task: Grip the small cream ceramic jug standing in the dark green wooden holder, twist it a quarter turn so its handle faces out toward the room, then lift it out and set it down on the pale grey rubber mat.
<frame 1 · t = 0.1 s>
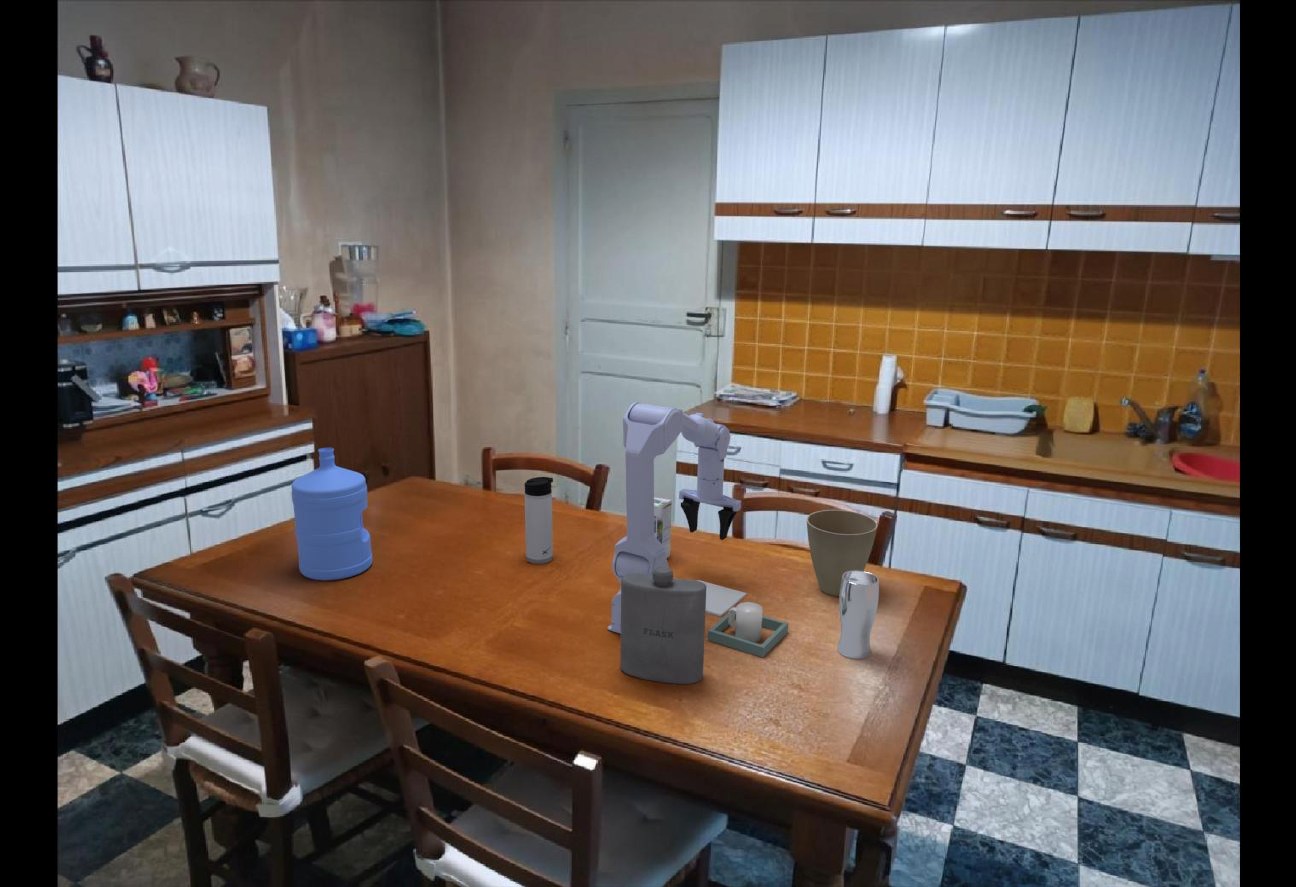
hand: (708, 534, 178), 10 cm above the table, tool pointing down, fingers open, 7 cm apart
mat: (708, 598, 170), on the table
beer glass: (853, 652, 150), on the table
plant pot: (835, 590, 176), on the table
flask: (660, 674, 141), on the table
syrup box: (654, 558, 191), on the table
water jug: (336, 568, 182), on the table
jug: (745, 621, 154), in the holder
travel mug: (540, 559, 189), on the table
holder: (748, 636, 155), on the table
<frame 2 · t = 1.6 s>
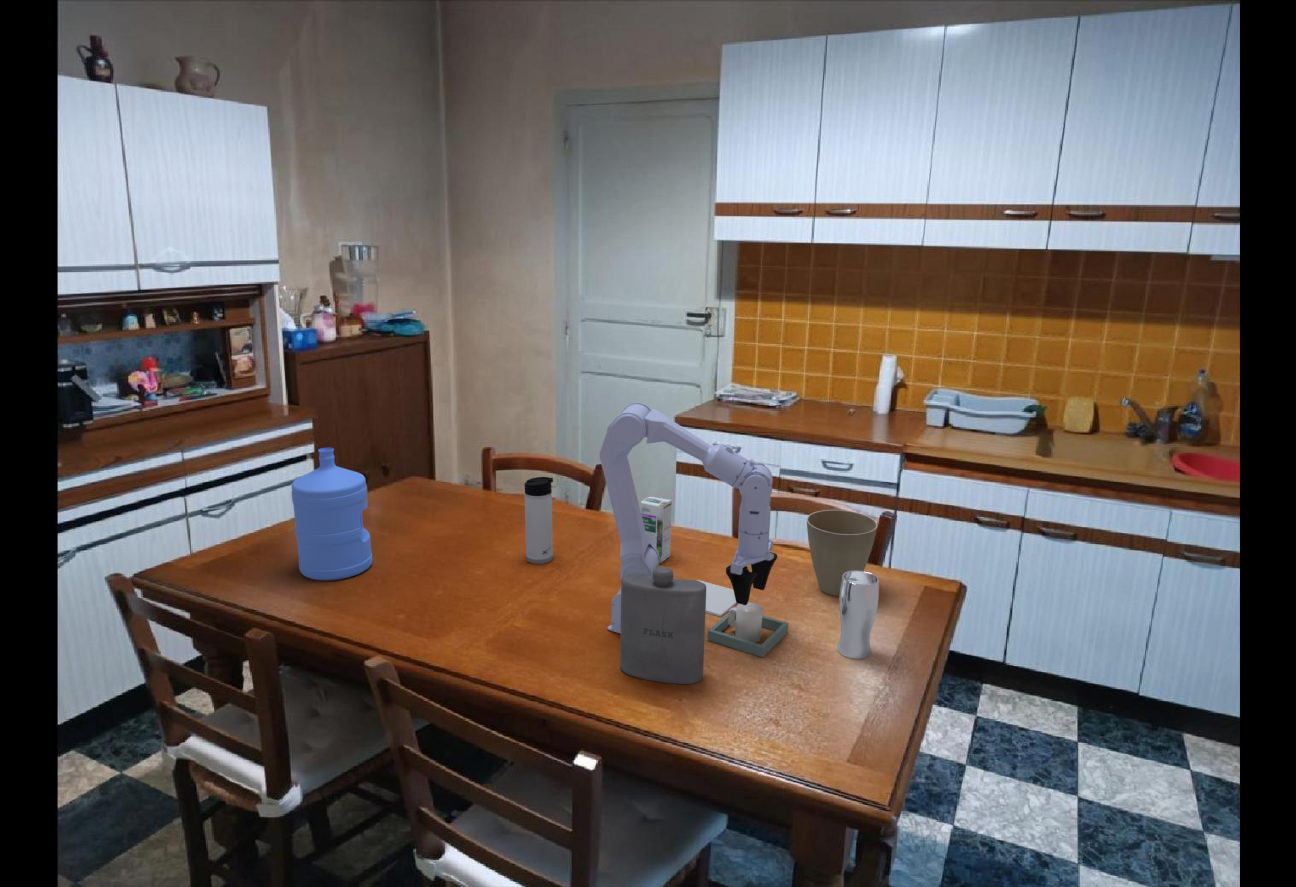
hand: (750, 595, 153), 9 cm above the table, tool pointing down, fingers open, 7 cm apart
nothing on the table moved.
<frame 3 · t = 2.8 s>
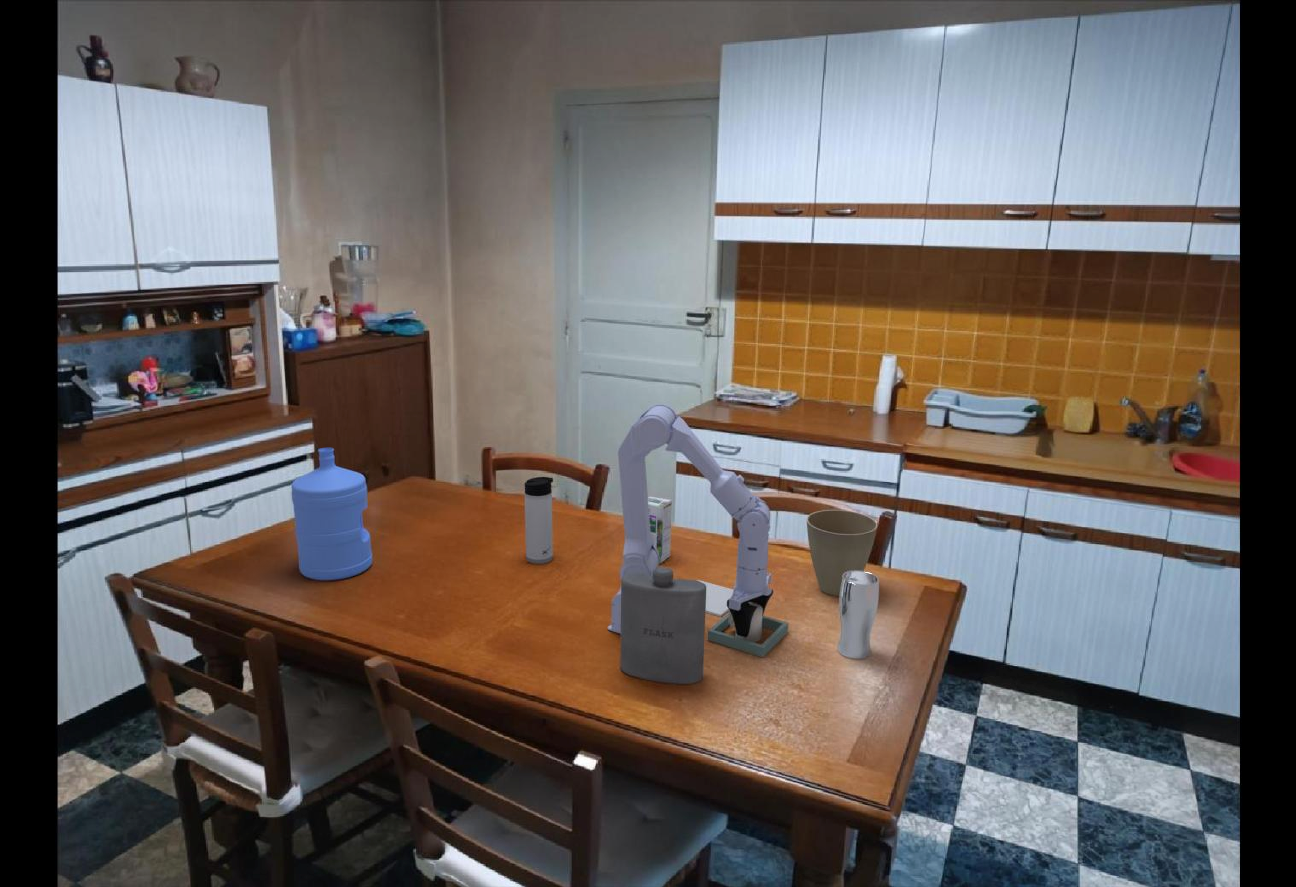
hand: (748, 629, 154), 1 cm above the table, tool pointing down, fingers closed on jug, 5 cm apart
jug: (745, 621, 154), in the holder, touching gripper
everything else where it was.
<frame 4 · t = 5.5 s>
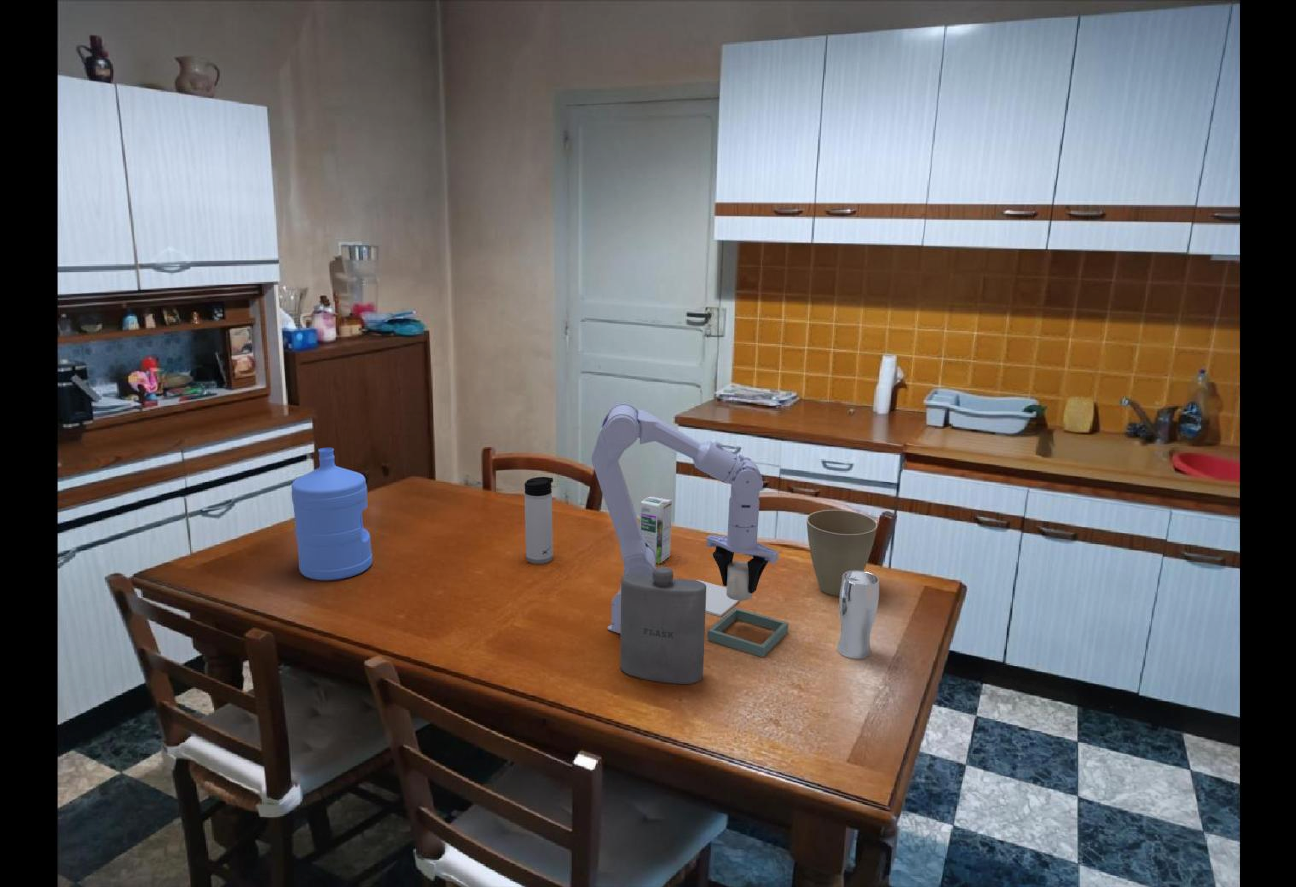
hand: (739, 587, 156), 8 cm above the table, tool pointing down, fingers closed on jug, 5 cm apart
jug: (738, 582, 155), point 10 cm above the table, touching gripper
everything else where it was.
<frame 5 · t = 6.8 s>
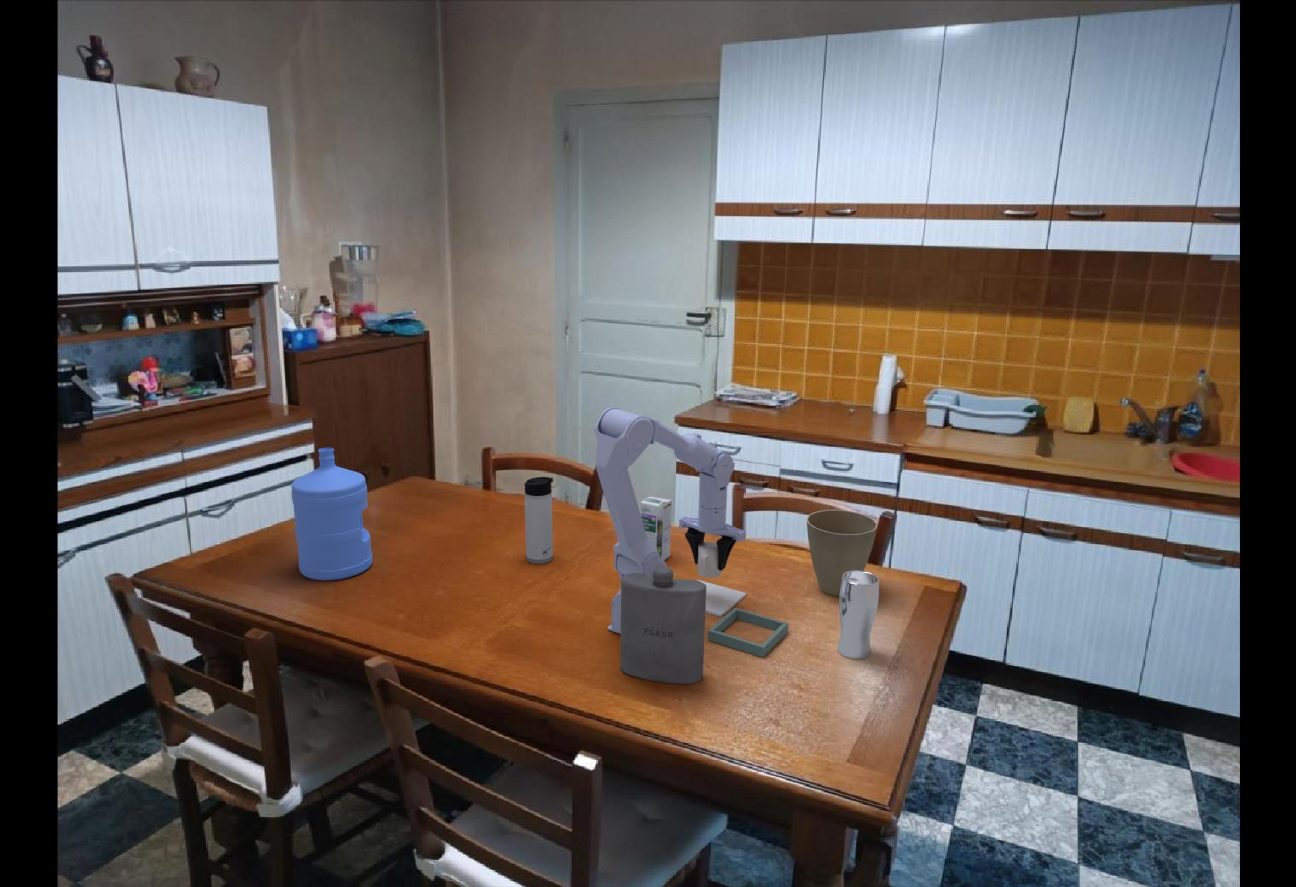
hand: (710, 565, 168), 8 cm above the table, tool pointing down, fingers closed on jug, 5 cm apart
jug: (708, 560, 167), point 9 cm above the table, touching gripper
everything else where it was.
when the fingers open (3 cm above the table, at t = 8.2 s): jug drops 1 cm, resting on mat.
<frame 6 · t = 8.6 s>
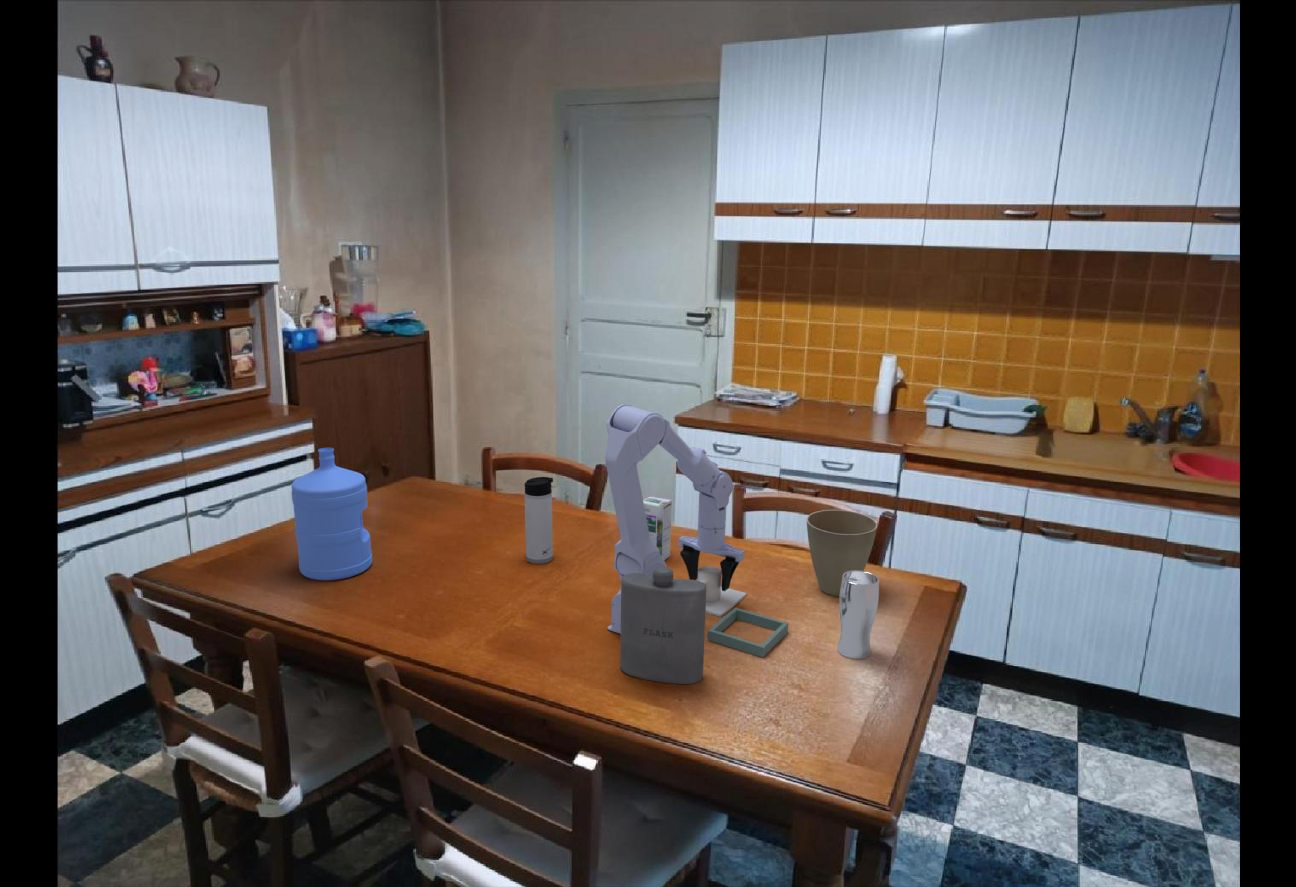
hand: (709, 584, 169), 3 cm above the table, tool pointing down, fingers open, 7 cm apart
jug: (707, 585, 168), on the mat
everything else where it was.
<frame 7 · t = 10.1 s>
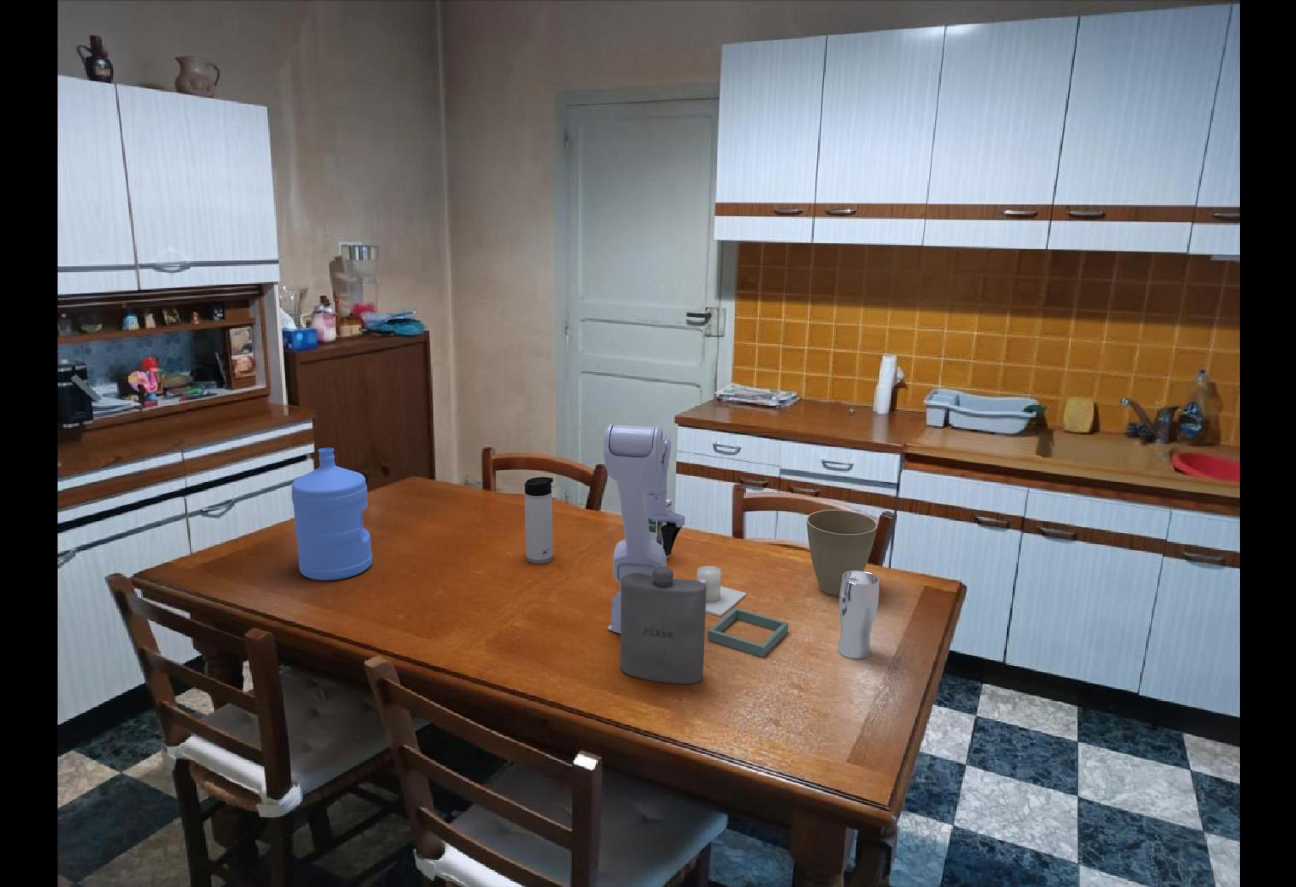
hand: (651, 551, 171), 9 cm above the table, tool pointing down, fingers open, 7 cm apart
nothing on the table moved.
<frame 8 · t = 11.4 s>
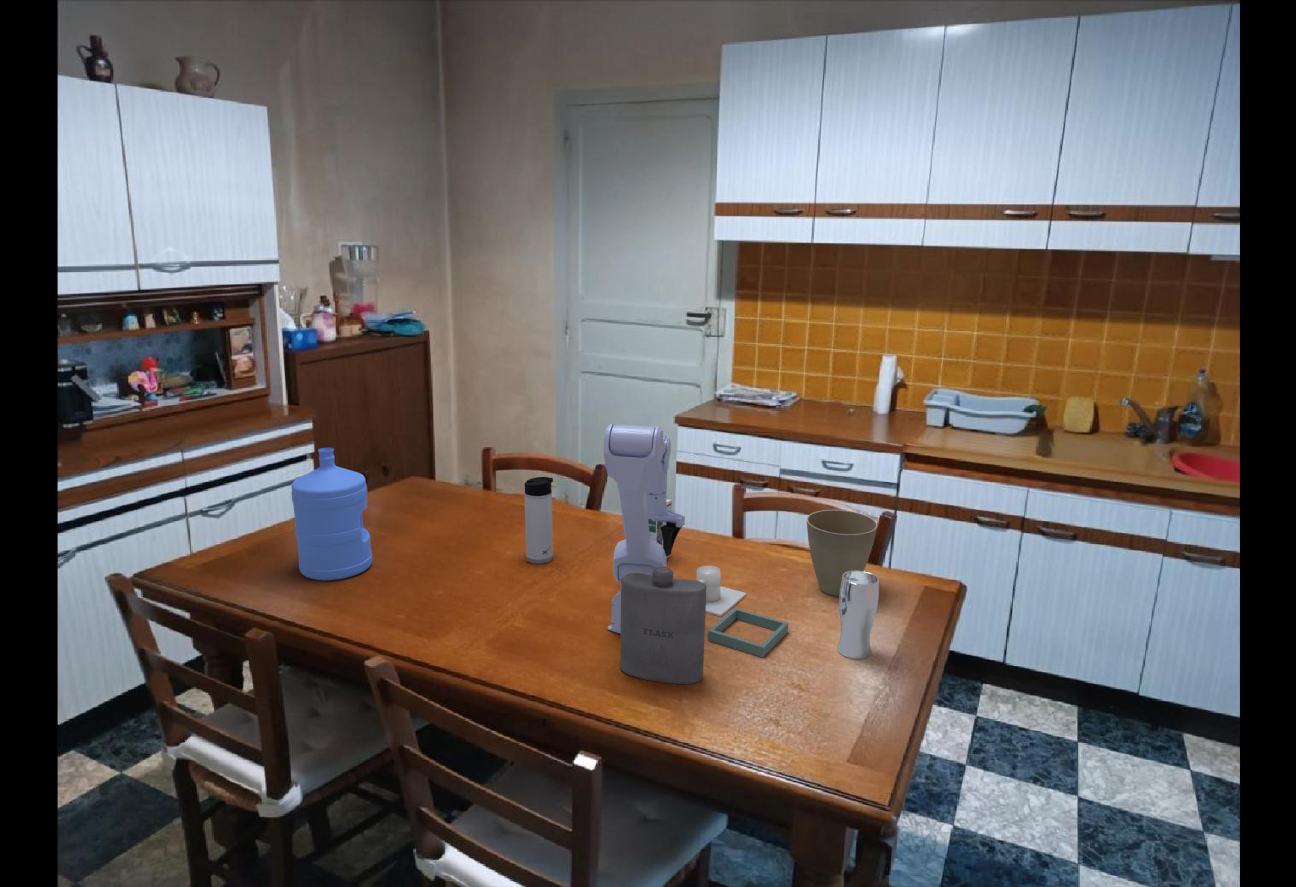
hand: (651, 551, 171), 9 cm above the table, tool pointing down, fingers open, 7 cm apart
nothing on the table moved.
at the end: jug inside the target area (0.2 cm from its centre), point 3.6 cm above the table; jug tilted 3°; the gripper is holding nothing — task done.
